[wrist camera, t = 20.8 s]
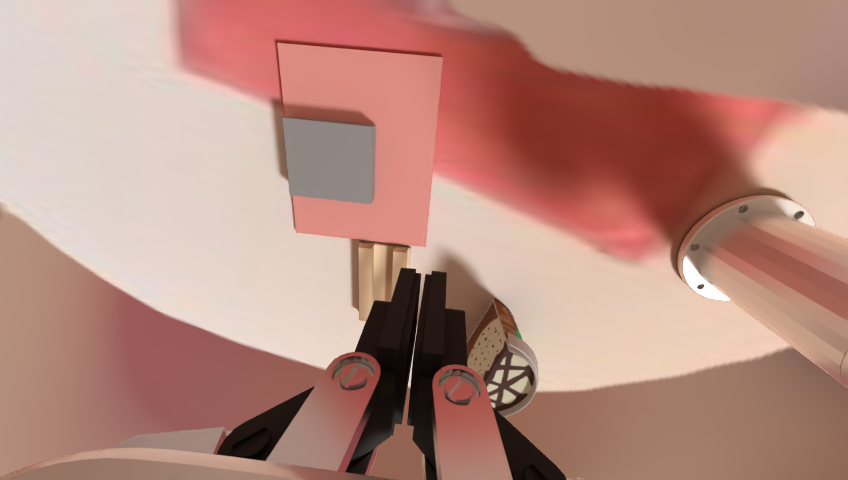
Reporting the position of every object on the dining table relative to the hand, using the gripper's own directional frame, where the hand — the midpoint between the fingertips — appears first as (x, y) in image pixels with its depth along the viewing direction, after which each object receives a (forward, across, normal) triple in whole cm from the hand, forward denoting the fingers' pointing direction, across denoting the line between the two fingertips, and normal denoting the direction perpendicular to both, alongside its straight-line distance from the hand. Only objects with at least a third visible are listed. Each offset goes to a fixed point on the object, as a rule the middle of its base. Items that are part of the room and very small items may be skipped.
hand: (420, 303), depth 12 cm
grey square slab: (+24, +12, -3) cm, 27 cm away
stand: (+25, +6, +16) cm, 30 cm away
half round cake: (+25, -10, +22) cm, 35 cm away
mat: (+25, +9, 0) cm, 27 cm away
